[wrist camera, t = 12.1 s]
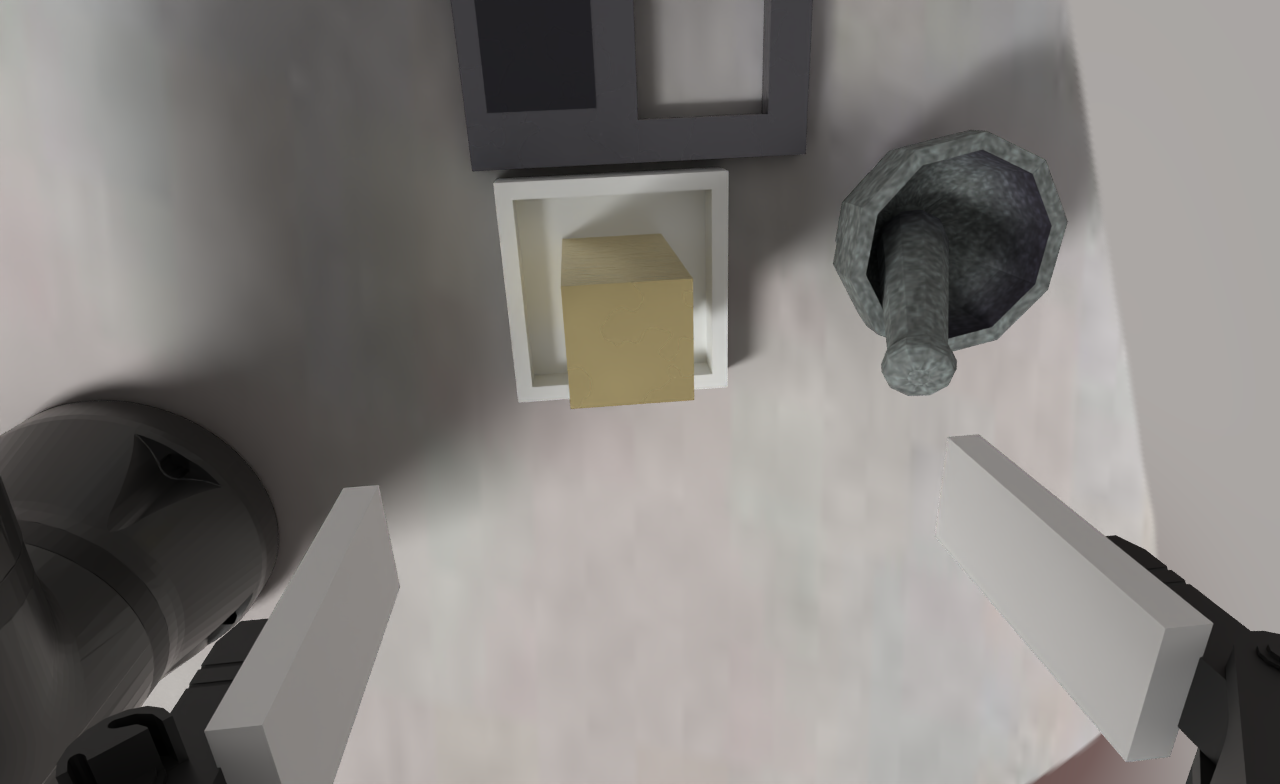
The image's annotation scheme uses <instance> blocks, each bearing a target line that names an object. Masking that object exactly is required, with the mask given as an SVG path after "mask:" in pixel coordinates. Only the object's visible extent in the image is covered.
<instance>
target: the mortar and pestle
mask: <svg viewBox="0 0 1280 784" xmlns="http://www.w3.org/2000/svg"><path fill="white" fill-rule="evenodd" d="M1067 222H1068V221H1067V219H1066V216H1065V213H1064V210H1063V207H1062V205H1061V202H1060V199H1059V196H1058V193H1057V191H1056V188H1055V185H1054V182H1053V179H1052V176H1051V174H1050V171H1049V168H1048V165H1047V162H1046V160H1045V159H1043V158H1040V157H1038V156H1036V155H1034V154H1032V153H1030V152H1028V151H1026V150H1024V149H1022V148H1020V147H1018V146H1016V145H1014V144H1012V143H1010V142H1008V141H1006V140H1004V139H1002V138H1000V137H998V136H996V135H994V134H992V133H990V132H988V131H976V130H969V131H964V132H960V133H956V134H952V135H948V136H944V137H940V138H937V139H933V140H929V141H925V142H921V143H918V144H914V145H910V146H906V147H903V148H899V149H895V150H891V151H889V152H888V153H887V154H886V155H885V157H884V158H883V159H882V160H881V161H880V162H879V163H878V164H877V165H876V167H875V168H874V169H873V170H872V171H871V172H870V173H868V174H867V176H866V177H865V178H864V179H863V180H862V181H861V182H860V183H859V185H858V186H857V187H856V188H855V189H854V190H853V191H852V192H851V193H850V195H849V196H848V197H847V198H846V199H845V200H844V201H843V202H842V206H841V212H840V217H839V223H838V229H837V235H836V240H835V241H836V243H837V245H836V251H835V256H834V262H833V265H834V267H835V269H836V271H837V273H838V275H839V277H840V278H841V280H842V282H843V284H844V286H845V288H846V290H847V292H848V294H849V296H850V298H851V300H852V302H853V304H854V306H855V308H856V310H857V312H858V314H859V315H860V317H861V318H862V320H863V321H864V323H865V324H866V326H867V327H869V328H870V329H871V330H873V331H874V332H875V333H877V334H878V335H881V336H883V337H886V342H887V351H886V353H885V356H884V358H883V361H882V364H881V368H882V373H883V375H884V377H885V379H886V381H887V383H888V385H889V386H890V387H891V388H892V389H895V390H897V391H899V392H901V393H903V394H905V395H908V396H919V395H931V394H933V393H935V392H937V391H939V390H941V389H943V388H945V387H947V386H948V385H949V383H950V381H951V379H952V377H953V375H954V373H955V371H956V367H957V360H956V358H955V356H954V354H953V352H952V351H956V350H960V349H964V348H967V347H971V346H975V345H979V344H983V343H986V342H990V341H994V340H997V339H998V338H999V337H1000V336H1001V335H1002V334H1003V333H1004V332H1005V331H1006V330H1007V329H1008V328H1009V327H1010V326H1011V325H1012V324H1013V323H1014V322H1015V321H1017V320H1018V319H1019V318H1020V317H1021V316H1022V315H1023V314H1024V313H1025V312H1026V311H1027V310H1028V309H1029V308H1030V307H1031V306H1032V305H1033V304H1034V303H1035V302H1036V301H1037V300H1038V299H1039V298H1040V297H1041V296H1042V295H1043V294H1044V293H1045V292H1046V291H1047V290H1048V287H1049V284H1050V281H1051V277H1052V274H1053V270H1054V267H1055V263H1056V260H1057V256H1058V253H1059V250H1060V246H1061V243H1062V239H1063V236H1064V232H1065V229H1066V225H1067Z"/></svg>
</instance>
